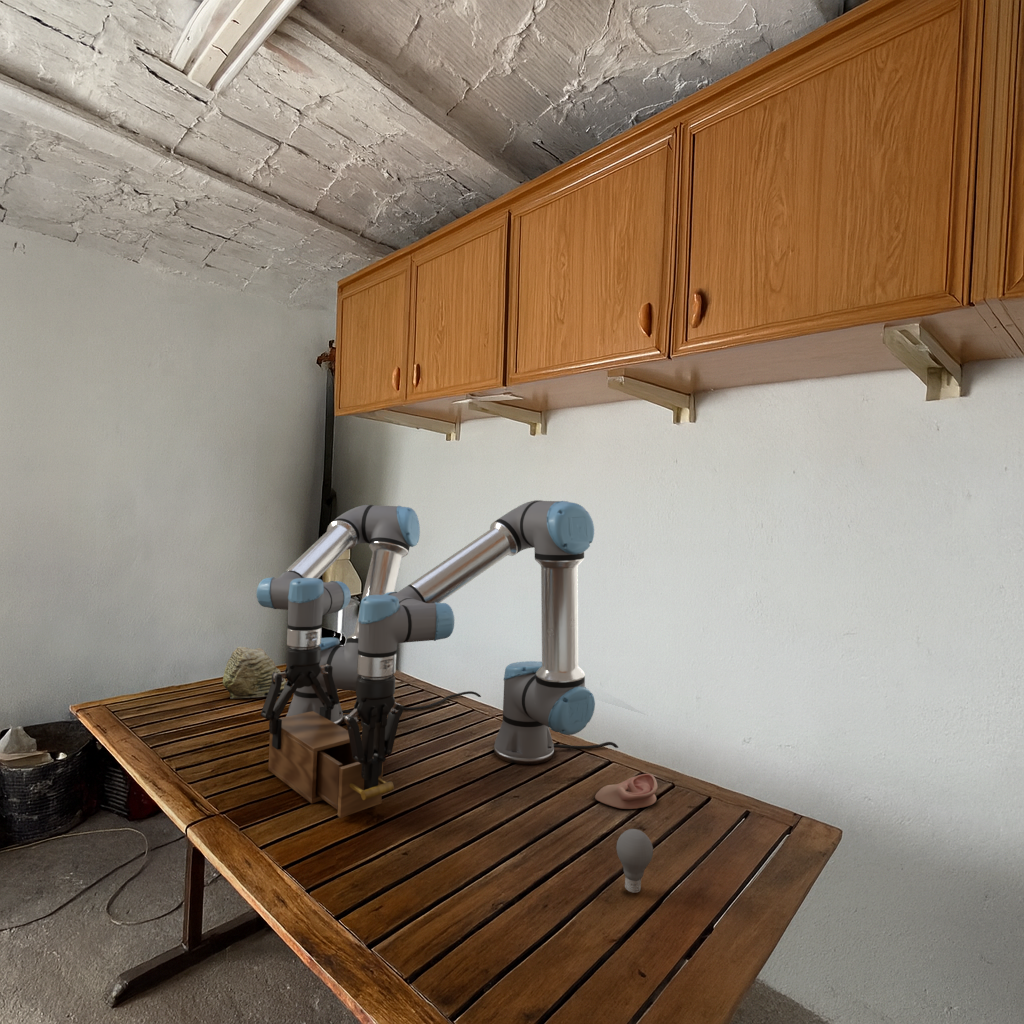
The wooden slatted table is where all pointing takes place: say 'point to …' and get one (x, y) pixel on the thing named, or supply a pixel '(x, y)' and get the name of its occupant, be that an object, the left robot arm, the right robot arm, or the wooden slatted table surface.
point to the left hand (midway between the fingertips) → (300, 741)
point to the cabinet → (303, 750)
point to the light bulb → (634, 857)
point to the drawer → (346, 781)
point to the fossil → (249, 673)
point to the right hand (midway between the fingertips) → (370, 793)
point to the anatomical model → (630, 793)
